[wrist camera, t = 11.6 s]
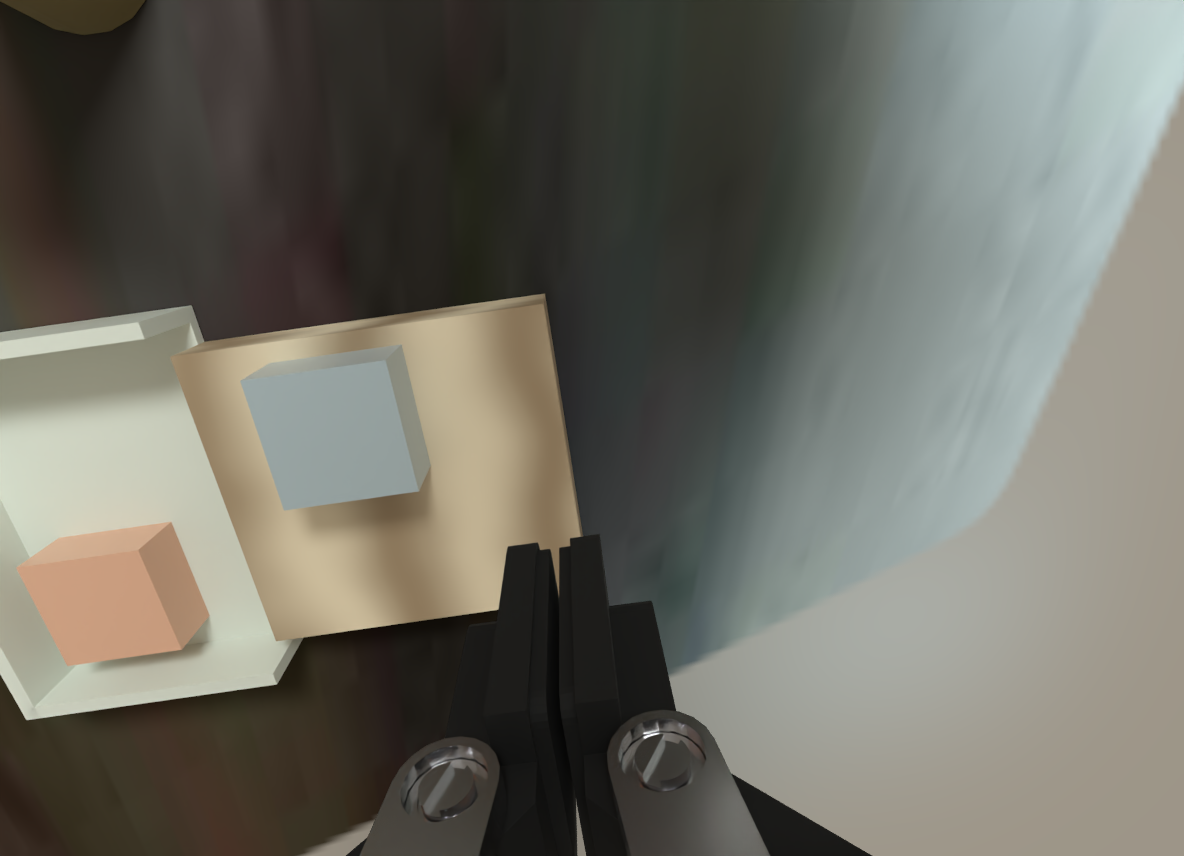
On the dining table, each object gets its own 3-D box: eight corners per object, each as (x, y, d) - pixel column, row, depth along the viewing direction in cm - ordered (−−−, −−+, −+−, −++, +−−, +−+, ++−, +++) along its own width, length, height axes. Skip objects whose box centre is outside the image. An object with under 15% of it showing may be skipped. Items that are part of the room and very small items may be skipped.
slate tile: (401, 344, 24) (385, 360, 22) (430, 465, 26) (418, 491, 24) (269, 363, 24) (240, 380, 22) (307, 482, 26) (284, 510, 24)
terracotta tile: (15, 567, 26) (58, 537, 28) (67, 666, 28) (103, 630, 30) (138, 550, 26) (171, 521, 28) (181, 649, 28) (209, 615, 30)
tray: (191, 305, 26) (138, 322, 22) (306, 632, 31) (277, 684, 28) (-82, 344, 26) (-175, 366, 22) (81, 664, 31) (26, 720, 28)
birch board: (544, 293, 26) (543, 303, 24) (587, 565, 31) (590, 596, 29) (204, 342, 26) (169, 356, 24) (297, 606, 31) (275, 641, 28)
